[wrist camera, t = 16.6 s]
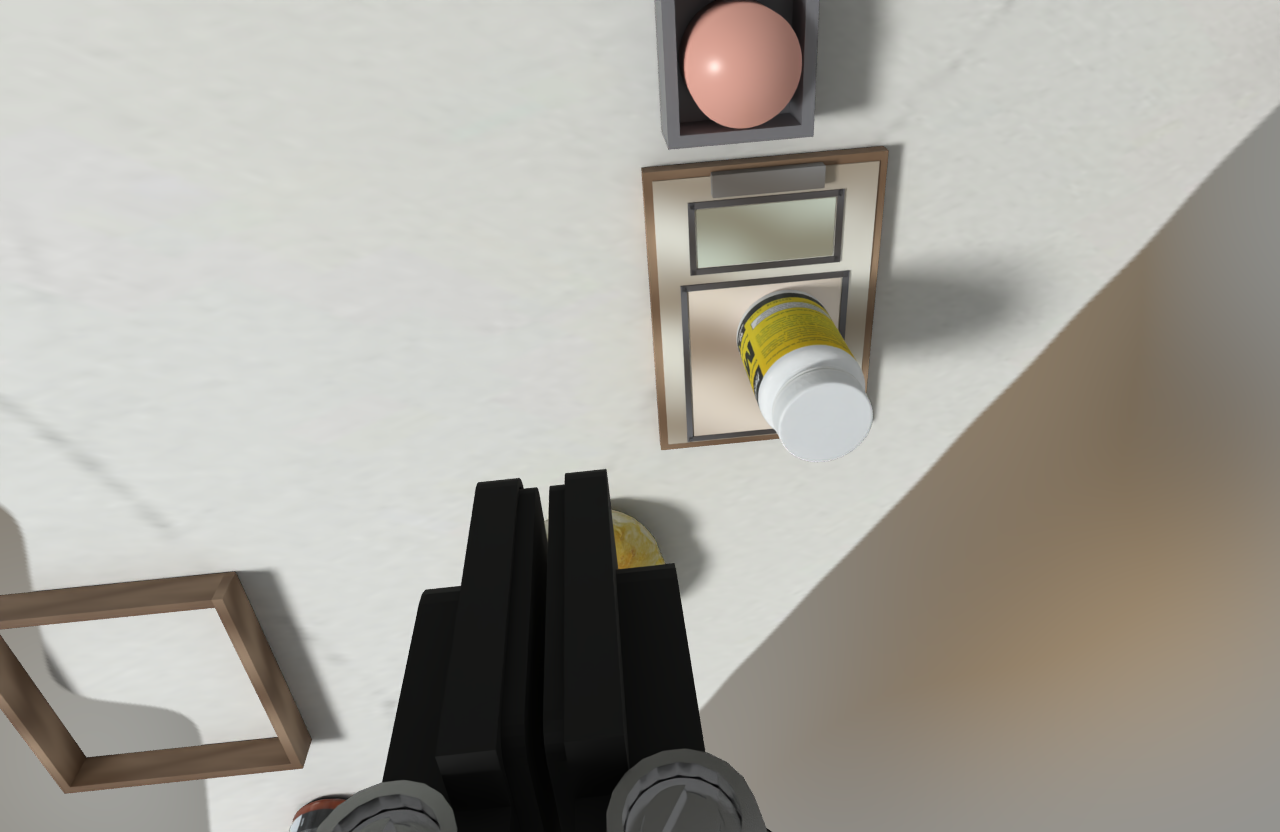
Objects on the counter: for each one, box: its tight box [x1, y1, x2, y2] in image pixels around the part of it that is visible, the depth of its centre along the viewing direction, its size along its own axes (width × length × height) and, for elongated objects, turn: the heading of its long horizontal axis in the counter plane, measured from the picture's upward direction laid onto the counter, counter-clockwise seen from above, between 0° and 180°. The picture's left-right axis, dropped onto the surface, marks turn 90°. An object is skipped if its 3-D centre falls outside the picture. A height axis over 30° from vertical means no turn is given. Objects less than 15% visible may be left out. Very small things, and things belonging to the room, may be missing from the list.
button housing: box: [655, 0, 819, 150], centre depth 33 cm, size 6×6×3 cm
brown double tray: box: [641, 146, 889, 450], centre depth 41 cm, size 15×11×2 cm
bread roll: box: [544, 510, 665, 569], centre depth 47 cm, size 8×9×4 cm
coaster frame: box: [0, 572, 312, 794], centre depth 51 cm, size 16×16×2 cm
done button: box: [679, 0, 802, 128], centre depth 33 cm, size 4×4×3 cm
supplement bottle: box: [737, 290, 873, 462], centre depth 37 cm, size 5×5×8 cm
